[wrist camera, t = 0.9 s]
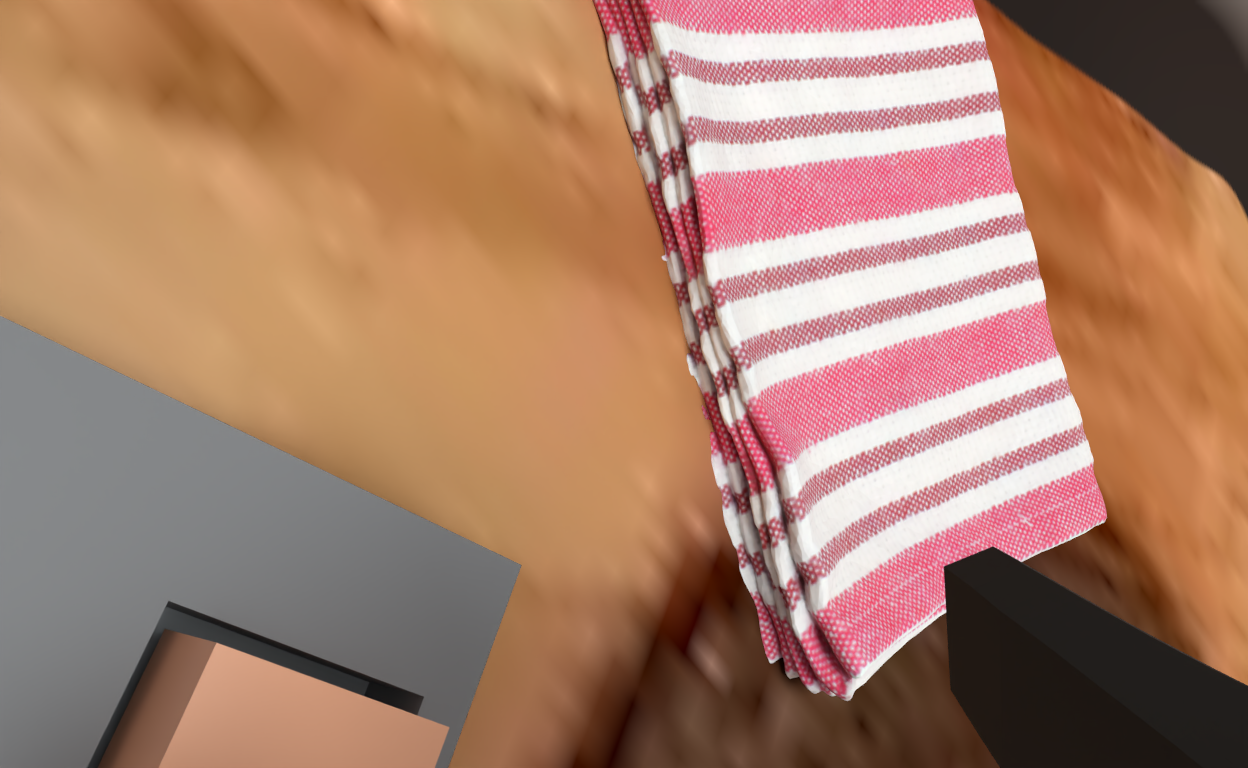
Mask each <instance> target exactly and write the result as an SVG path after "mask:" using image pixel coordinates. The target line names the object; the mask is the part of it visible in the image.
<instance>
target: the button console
mask: <svg viewBox="0 0 1248 768" xmlns="http://www.w3.org/2000/svg"><path fill="white" fill-rule="evenodd" d="M520 568H521V565H520V564H518V563H516V562H514V561H512V560H510V559H508V558H505V557H503V556H501V555H499V554H497V553H495V552H493V551H491V550H489V549H487V548H485V547H482V546H480V545H478V544H476V543H474V542H472V541H470V540H468V539H466V538H464V537H462V536H459V535H457V534H455V533H453V532H451V531H449V530H447V529H445V528H443V527H441V526H439V525H436V524H434V523H432V522H430V521H428V520H426V519H424V518H422V517H420V516H418V515H416V514H413V513H411V512H409V511H407V510H405V509H403V508H401V507H399V506H397V505H395V504H393V503H390V502H388V501H386V500H384V499H382V498H380V497H378V496H376V495H374V494H372V493H370V492H367V491H365V490H363V489H361V488H359V487H357V486H355V485H353V484H351V483H349V482H347V481H344V480H342V479H340V478H338V477H336V476H334V475H332V474H330V473H328V472H326V471H324V470H321V469H319V468H317V467H315V466H313V465H311V464H309V463H307V462H305V461H303V460H301V459H298V458H296V457H294V456H292V455H290V454H288V453H286V452H284V451H282V450H280V449H278V448H275V447H273V446H271V445H269V444H267V443H265V442H263V441H261V440H259V439H257V438H255V437H252V436H250V435H248V434H246V433H244V432H242V431H240V430H238V429H236V428H234V427H231V426H229V425H227V424H225V423H223V422H221V421H219V420H217V419H215V418H213V417H211V416H208V415H206V414H204V413H202V412H200V411H198V410H196V409H194V408H192V407H190V406H188V405H185V404H183V403H181V402H179V401H177V400H175V399H173V398H171V397H169V396H167V395H165V394H162V393H160V392H158V391H156V390H154V389H152V388H150V387H148V386H146V385H144V384H142V383H139V382H137V381H135V380H133V379H131V378H129V377H127V376H125V375H123V374H121V373H119V372H116V371H114V370H112V369H110V368H108V367H106V366H104V365H102V364H100V363H98V362H96V361H93V360H91V359H89V358H87V357H85V356H83V355H81V354H79V353H77V352H75V351H73V350H70V349H68V348H66V347H64V346H62V345H60V344H58V343H56V342H54V341H52V340H50V339H47V338H45V337H43V336H41V335H39V334H37V333H35V332H33V331H31V330H29V329H27V328H24V327H22V326H20V325H18V324H16V323H14V322H12V321H10V320H8V319H6V318H4V317H1V316H0V768H98V766H99V764H100V762H101V760H102V757H103V755H104V753H105V751H106V749H107V747H108V745H109V743H110V741H111V739H112V737H113V735H114V733H115V731H116V729H117V726H118V724H119V722H120V720H121V718H122V716H123V714H124V712H125V710H126V708H127V706H128V704H129V702H130V700H131V698H132V696H133V693H134V691H135V689H136V687H137V685H138V683H139V681H140V679H141V677H142V675H143V673H144V671H145V669H146V667H147V665H148V662H149V660H150V658H151V656H152V654H153V652H154V650H155V648H156V646H157V644H158V642H159V640H160V638H161V636H162V634H163V632H164V629H167V630H171V631H175V632H179V633H182V634H186V635H190V636H194V637H197V638H201V639H205V640H209V641H212V642H216V643H219V644H222V645H225V646H227V647H230V648H233V649H236V650H238V651H241V652H244V653H247V654H249V655H252V656H255V657H258V658H260V659H263V660H266V661H269V662H271V663H274V664H277V665H280V666H282V667H285V668H288V669H291V670H293V671H296V672H299V673H302V674H304V675H307V676H310V677H313V678H315V679H318V680H321V681H324V682H326V683H329V684H332V685H335V686H337V687H340V688H343V689H346V690H348V691H351V692H354V693H357V694H359V695H362V696H365V697H368V698H370V699H373V700H376V701H379V702H381V703H384V704H387V705H390V706H392V707H395V708H398V709H401V710H403V711H406V712H409V713H412V714H414V715H417V716H420V717H423V718H425V719H428V720H431V721H434V722H436V723H439V724H442V725H445V726H447V727H449V730H448V733H447V736H446V738H445V741H444V744H443V746H442V749H441V752H440V755H439V757H438V760H437V763H436V766H435V768H448V767H449V764H450V761H451V758H452V756H453V753H454V750H455V747H456V745H457V742H458V739H459V736H460V734H461V731H462V728H463V725H464V723H465V720H466V717H467V714H468V711H469V709H470V706H471V703H472V700H473V698H474V695H475V692H476V689H477V687H478V684H479V681H480V678H481V676H482V673H483V670H484V667H485V665H486V662H487V659H488V656H489V653H490V651H491V648H492V645H493V642H494V640H495V637H496V634H497V631H498V629H499V626H500V623H501V620H502V618H503V615H504V612H505V609H506V607H507V604H508V601H509V598H510V595H511V593H512V590H513V587H514V584H515V582H516V579H517V576H518V573H519V571H520Z"/></svg>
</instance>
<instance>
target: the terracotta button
mask: <svg viewBox="0 0 1248 768" xmlns="http://www.w3.org/2000/svg"><path fill="white" fill-rule="evenodd" d="M448 730H449V727H447V726H445V725H442V724H439V723H436V722H434V721H431V720H428V719H425V718H423V717H420V716H417V715H414V714H412V713H409V712H406V711H403V710H401V709H398V708H395V707H392V706H390V705H387V704H384V703H381V702H379V701H376V700H373V699H370V698H368V697H365V696H362V695H359V694H357V693H354V692H351V691H348V690H346V689H343V688H340V687H337V686H335V685H332V684H329V683H326V682H324V681H321V680H318V679H315V678H313V677H310V676H307V675H304V674H302V673H299V672H296V671H293V670H291V669H288V668H285V667H282V666H280V665H277V664H274V663H271V662H269V661H266V660H263V659H260V658H258V657H255V656H252V655H249V654H247V653H244V652H241V651H238V650H236V649H233V648H230V647H227V646H225V645H222V644H219V643H216V642H212V641H209V640H205V639H201V638H197V637H194V636H190V635H186V634H182V633H179V632H175V631H171V630H167V629H164V632H163V634H162V636H161V638H160V640H159V642H158V644H157V646H156V648H155V650H154V652H153V654H152V656H151V658H150V660H149V662H148V665H147V667H146V669H145V671H144V673H143V675H142V677H141V679H140V681H139V683H138V685H137V687H136V689H135V691H134V693H133V696H132V698H131V700H130V702H129V704H128V706H127V708H126V710H125V712H124V714H123V716H122V718H121V720H120V722H119V724H118V726H117V729H116V731H115V733H114V735H113V737H112V739H111V741H110V743H109V745H108V747H107V749H106V751H105V753H104V755H103V757H102V760H101V762H100V764H99V766H98V768H435V766H436V763H437V760H438V757H439V755H440V752H441V749H442V746H443V744H444V741H445V738H446V736H447V733H448Z"/></svg>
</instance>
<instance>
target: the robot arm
mask: <svg viewBox="0 0 1248 768" xmlns="http://www.w3.org/2000/svg"><path fill="white" fill-rule="evenodd" d="M944 582H945V599H946V616H947V634H948V651H949V669H950V686H951V691H952V692H953V694H954V696H955V697H956V699H957V700H958V702H959V704H960V705H961V707H962V708H963V710H964V712H965V713H966V715H967V717H968V718H969V720H970V721H971V723H972V725H973V726H974V728H975V729H976V731H977V733H978V734H979V736H980V737H981V739H982V740H983V742H984V743H985V745H986V746H987V748H988V750H989V751H990V753H991V754H992V756H993V757H994V759H995V760H996V762H997V763H998V765H999V766H1000V768H1248V686H1247V685H1245V684H1243V683H1241V682H1239V681H1237V680H1235V679H1233V678H1231V677H1229V676H1227V675H1225V674H1223V673H1221V672H1219V671H1218V670H1216V669H1214V668H1212V667H1210V666H1208V665H1206V664H1204V663H1202V662H1200V661H1198V660H1197V659H1195V658H1193V657H1191V656H1189V655H1187V654H1185V653H1183V652H1181V651H1179V650H1178V649H1176V648H1174V647H1172V646H1170V645H1168V644H1166V643H1164V642H1162V641H1161V640H1159V639H1157V638H1155V637H1153V636H1151V635H1149V634H1147V633H1146V632H1144V631H1142V630H1140V629H1138V628H1136V627H1135V626H1133V625H1131V624H1129V623H1127V622H1126V621H1124V620H1122V619H1120V618H1118V617H1117V616H1115V615H1113V614H1111V613H1109V612H1108V611H1106V610H1104V609H1102V608H1101V607H1099V606H1097V605H1095V604H1094V603H1092V602H1090V601H1088V600H1086V599H1085V598H1083V597H1081V596H1079V595H1078V594H1076V593H1074V592H1072V591H1071V590H1069V589H1067V588H1065V587H1064V586H1062V585H1060V584H1059V583H1057V582H1055V581H1053V580H1052V579H1050V578H1048V577H1046V576H1045V575H1043V574H1041V573H1040V572H1038V571H1036V570H1034V569H1033V568H1031V567H1029V566H1027V565H1026V564H1024V563H1022V562H1020V561H1019V560H1017V559H1015V558H1014V557H1012V556H1010V555H1008V554H1006V553H1005V552H1003V551H1001V550H999V549H997V548H995V547H990V548H988V549H985V550H983V551H980V552H978V553H975V554H973V555H970V556H968V557H966V558H963V559H961V560H958V561H956V562H953V563H951V564H948V565H946V566H944Z"/></svg>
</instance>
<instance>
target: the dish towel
mask: <svg viewBox="0 0 1248 768" xmlns="http://www.w3.org/2000/svg"><path fill="white" fill-rule="evenodd" d="M593 2H594V5H595V7H596V10H597V12H598V14H599V17H600V20H601V22H602V25H603V28H604V31H605V34H606V38H607V45H608V52H609V58H610V61H611V65H612V67H613V70H614V73H615V76H616V82H617V85H618V91H619V97H620V101H621V105H622V109H623V113H624V116H625V119H626V123H627V125H628V129H629V133H630V135H631V137H632V141H633V145H634V150H635V154H636V160H637V162H638V166H639V168H640V170H641V173H642V175H643V178H644V181H645V185H646V188H647V190H648V192H649V195H650V198H651V202H652V205H653V208H654V211H655V214H656V217H657V220H658V223H659V227H660V230H661V233H662V237H663V244H664V247H665V250H666V251H665V255H664V256H662V259H663V260H664V261H667V265H668V270H669V275H670V278H671V281H672V284H673V286H674V288H675V290H676V294H677V299H678V303H679V310H680V314H681V318H682V322H683V328H684V333H685V336H686V340H687V343H688V345H689V348H690V351H691V353H692V354H689V353H688V354H687V362H688V365H689V371H690V374H691V375H694V376H695V378H696V380H697V382H698V385H699V386H700V389H701V391H702V394H703V397H704V399H705V402H706V406H707V409H708V413H709V415H708V413H707V410H706V409H705V408H704V407H703V406H702V410H703V413H704V416H705V419H709V420H710V419H711V421H712V424H713V427H714V431H715V433H714V432H711V434H710V440H711V450H712V455H711V460H712V466H713V470H714V474H715V478H716V482H717V485H718V488H719V489H720V490H721V493H722V500H723V515H724V520H725V524H726V527H727V529H728V532H729V534H730V537H731V539H732V543H733V545H734V547H735V548H736V549H737V554H738V558H739V567H740V572H741V575H742V577H743V580H744V583H745V584H746V586H747V588H748V590H749V592H750V594H751V596H752V598H753V599H754V601H755V605H756V607H757V611H758V616H759V624H760V631H761V636H762V641H763V644H764V648H765V653H766V655H767V657H768V660H769V662H770V663H774V662H775V661H777V660H778V659H779V658H782V657H783V660H784V665H785V673H786V675H787V677H789V678H790V679H791V678H796V677H800V679H801V681H802V683H803V684H804V685H805V687H806V688H807V689H808V690H810V691H811V692H812V693H814V694H816V693H818V692H820V691H822V690H823V691H824V692H825V693H827V694H828V695H830V696H836V695H837V696H838V697H840V698H841V699H843V700H846V701H848V700H850V699H851V698H852V696H853V694H854V691H855V690H856V689H857V688H859V687H860V686H861V685H863V684H864V683H865V682H866V681H867V680H868V679H869V678H870V677H871V676H872V675H873V674H874V673H875V672H876V671H877V670H878V669H879V668H880V667H881V666H882V665H883V664H884V663H885V662H886V661H887V660H888V659H889V658H890V657H891V656H892V655H893V654H894V653H895V652H897V651H898V650H899V649H900V648H901V647H902V646H903V645H904V644H905V643H906V642H907V641H908V640H910V639H911V638H913V637H914V636H916V635H917V634H918V633H919V632H921V631H922V630H923V629H924V628H925V627H927V626H928V625H929V624H931V623H932V622H933V621H934V620H936V619H937V618H938V617H939V616H941V615H943V614H944V613H946V599H945V582H944V566H946V565H948V564H951V563H953V562H956V561H958V560H961V559H963V558H966V557H968V556H970V555H973V554H975V553H978V552H980V551H983V550H985V549H988V548H990V547H995V548H997V549H999V550H1001V551H1003V552H1005V553H1006V554H1008V555H1010V556H1012V557H1014V558H1015V559H1017V560H1019V561H1020V562H1023V561H1025V560H1027V559H1029V558H1031V557H1032V556H1034V555H1036V554H1039V553H1041V552H1043V551H1045V550H1048V549H1050V548H1053V547H1055V546H1057V545H1059V544H1062V543H1064V542H1066V541H1068V540H1070V539H1073V538H1075V537H1077V536H1079V535H1081V534H1084V533H1086V532H1087V531H1089V530H1090V529H1092V528H1093V527H1094V526H1097V525H1099V524H1101V523H1104V521H1105V520H1106V518H1107V514H1106V507H1105V504H1104V501H1103V497H1102V494H1101V492H1100V489H1099V487H1098V484H1097V481H1096V478H1095V475H1094V472H1093V456H1092V454H1091V451H1090V447H1089V443H1088V441H1087V438H1086V436H1085V433H1084V430H1083V424H1082V418H1081V415H1080V411H1079V408H1078V406H1077V404H1076V402H1075V400H1074V397H1073V395H1072V394H1071V392H1070V388H1069V385H1068V382H1067V375H1066V372H1065V369H1064V365H1063V363H1062V360H1061V357H1060V355H1059V353H1058V351H1057V349H1056V345H1055V342H1054V339H1053V336H1052V331H1051V327H1050V323H1049V319H1048V315H1047V311H1046V296H1045V291H1044V286H1043V282H1042V279H1041V276H1040V273H1039V268H1038V262H1037V255H1036V251H1035V247H1034V243H1033V240H1032V236H1031V233H1030V231H1029V230H1028V228H1027V225H1026V221H1025V216H1024V210H1023V206H1022V202H1021V199H1020V197H1019V194H1018V191H1017V189H1016V187H1015V185H1014V181H1013V177H1012V172H1011V167H1010V162H1009V157H1008V153H1007V147H1006V141H1005V139H1006V132H1005V126H1004V119H1003V114H1002V110H1001V106H1000V102H999V96H998V89H997V83H996V78H995V74H994V70H993V67H992V62H991V60H990V58H989V55H988V52H987V48H986V43H985V39H984V35H983V30H982V28H981V25H980V22H979V19H978V17H977V13H976V10H975V7H974V4H973V1H972V0H593ZM709 416H710V418H709Z"/></svg>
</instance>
